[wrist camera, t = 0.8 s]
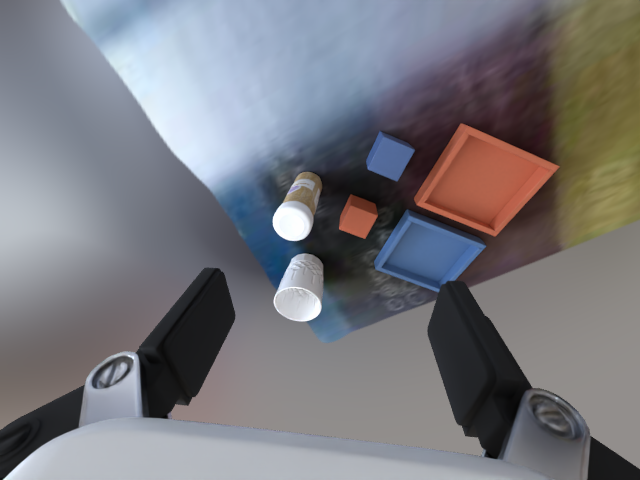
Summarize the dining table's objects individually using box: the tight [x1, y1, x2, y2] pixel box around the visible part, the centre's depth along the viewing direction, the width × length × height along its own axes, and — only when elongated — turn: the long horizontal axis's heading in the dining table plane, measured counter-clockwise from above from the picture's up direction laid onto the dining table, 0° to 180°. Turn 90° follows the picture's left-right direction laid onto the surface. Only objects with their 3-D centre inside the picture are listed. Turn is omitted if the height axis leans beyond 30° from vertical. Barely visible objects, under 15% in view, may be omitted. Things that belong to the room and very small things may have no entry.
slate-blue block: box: [366, 131, 415, 181], centre depth 34 cm, size 4×4×4 cm
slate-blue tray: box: [374, 209, 486, 292], centre depth 42 cm, size 12×14×2 cm
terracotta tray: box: [414, 123, 560, 236], centre depth 35 cm, size 12×14×2 cm
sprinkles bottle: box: [273, 172, 322, 241], centre depth 34 cm, size 5×5×13 cm
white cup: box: [274, 253, 323, 321], centre depth 44 cm, size 8×8×10 cm
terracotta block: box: [339, 194, 378, 239], centre depth 39 cm, size 4×4×4 cm
